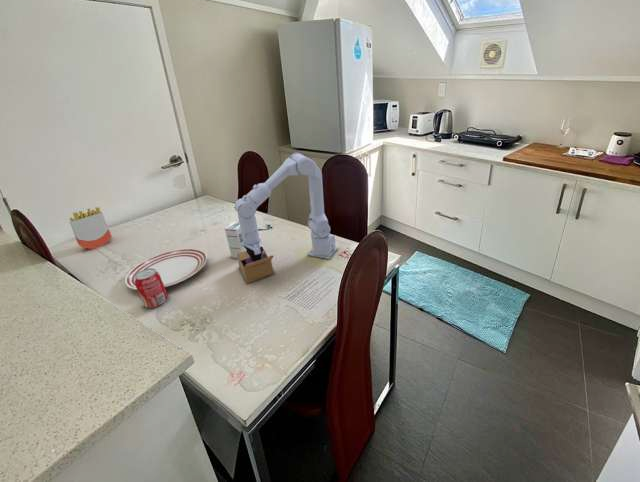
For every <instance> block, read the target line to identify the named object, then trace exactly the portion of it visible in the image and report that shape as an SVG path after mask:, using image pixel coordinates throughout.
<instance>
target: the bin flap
mask: <svg viewBox="0 0 640 482" xmlns="http://www.w3.org/2000/svg"><path fill="white" fill-rule="evenodd" d="M273 257H274V256H273V255H270V256H268V257H267V258H264V259H261V260H258V261H255V262H252V263H249V264H246V265H245V268H244V269H247V268H250V267H252V266H255V265H258V264H261V263H264V262H267V261H270V260H271V261H272V259H273Z"/></svg>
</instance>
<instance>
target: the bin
mask: <svg viewBox="0 0 640 482" xmlns="http://www.w3.org/2000/svg"><path fill="white" fill-rule="evenodd" d="M260 247H263V246H261V245H260ZM262 254H264V255H265V256H266V258H267V257H269V255H268V254H267V252H266V250H265V249H264V248H263V252H262ZM249 258H250V256H249V255H248V253H247V252H246V251H245V252H242V253H238V254H237V258H236V259H237V262H238V267H239V269H240V271H241V274H242V275H243V277H244V279H245V281H246V283H247V284H249V283H252V282H255V281H257V280H260V279H263V278H266V277H268V276H271V275H273V274H274V270H273V263H272V259H271V260H270V261H267V262H265V263H263V264H260V265H257V266H254V267H251V268H247V269H244V268H245V265H246V262H245V260H246V259H249Z"/></svg>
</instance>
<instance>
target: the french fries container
mask: <svg viewBox="0 0 640 482" xmlns="http://www.w3.org/2000/svg"><path fill="white" fill-rule="evenodd" d="M86 209H87V212H83V211H82V210H79V211H75V212H72V215H73V217H69V225H70V227H71V229H72V233H73V235H74V238H75V240H76V242H77V245H79V246H80V247H81V248H84V249H89V250H93V249H96V248H99V247H102V246H104V245H107V244H108V242H109V241H110V240H111V239H112V233H111V232H110V229H109V226H108V224H107V221H106V219H105V216H104V214H103V212H102V211H101V209H100V207H99V206H95V209H90V208H86Z"/></svg>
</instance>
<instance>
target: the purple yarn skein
mask: <svg viewBox="0 0 640 482" xmlns="http://www.w3.org/2000/svg"><path fill="white" fill-rule="evenodd" d="M264 258H266V256H265V255H264V254H261V259H264ZM245 262H246V264H249V263H252V262H253V261H252V259H251V258H249V259H246V260H245ZM264 263H265V262H264ZM261 264H263V263H261ZM259 265H260V264H259ZM256 266H257V265H256ZM252 267H254V266H252ZM250 268H251V267H250Z"/></svg>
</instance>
